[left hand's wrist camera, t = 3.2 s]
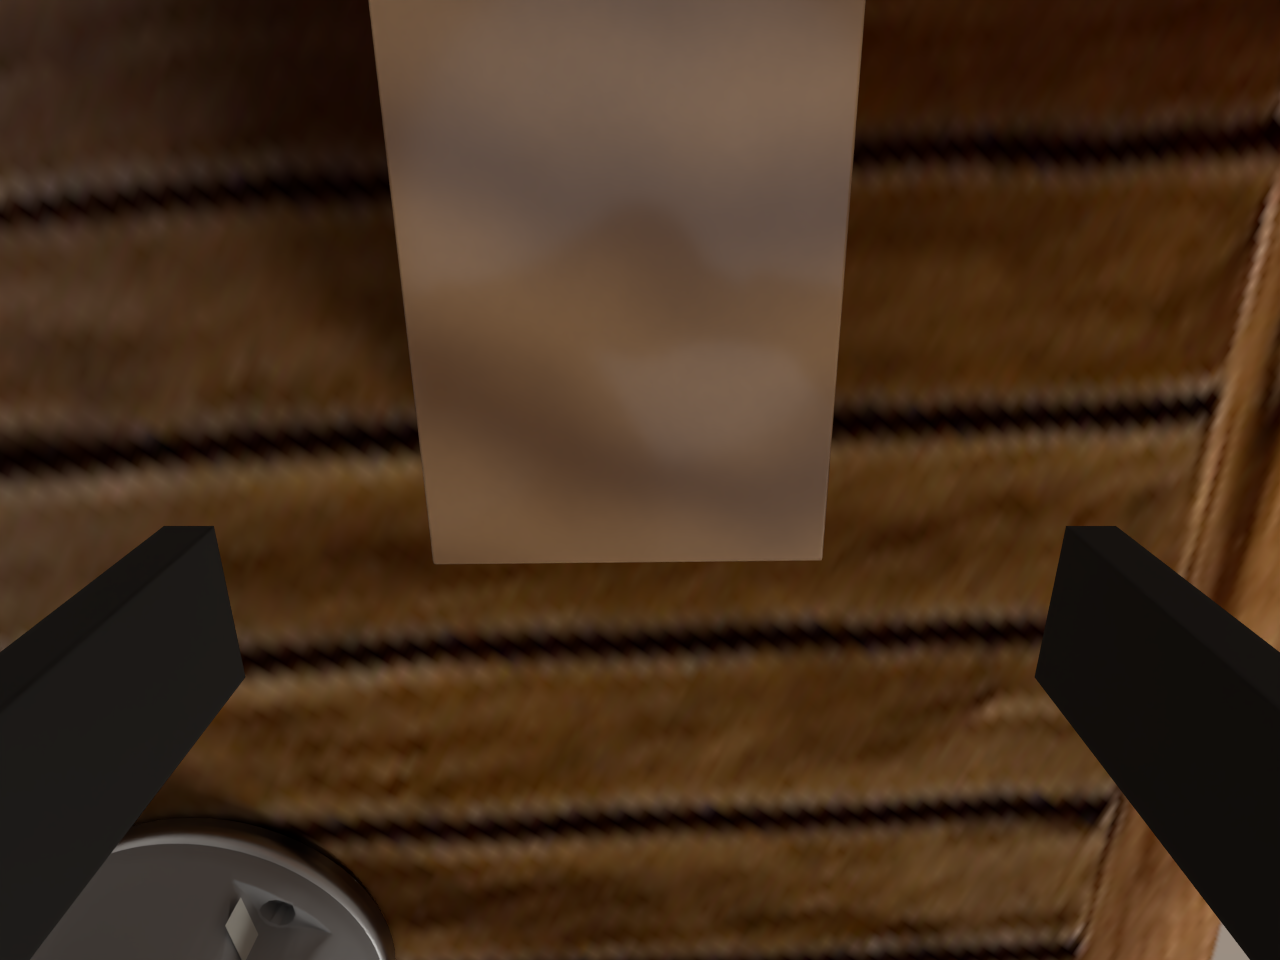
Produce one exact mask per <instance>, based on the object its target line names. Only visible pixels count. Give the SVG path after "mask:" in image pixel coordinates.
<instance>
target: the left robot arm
mask: <svg viewBox="0 0 1280 960" xmlns="http://www.w3.org/2000/svg"><path fill="white" fill-rule="evenodd" d="M244 678H245V673H244V669H243V664H242V659H241V654H240V649H239V645H238V640H237V635H236V630H235V625H234V621H233V616H232V611H231V606H230V601H229V597H228V592H227V587H226V582H225V577H224V573H223V568H222V563H221V558H220V554H219V549H218V544H217V539H216V534H215V530H214V526H164V527H162V528H161V529H160V530H158V531H157V532H156V533H155V534H153V535H152V536H151V537H149V538H148V539H147V540H145V541H144V542H143V543H142V544H140V545H139V546H138V547H136V548H135V549H134V550H132V551H131V552H130V553H129V554H127V555H126V556H125V557H123V558H122V559H121V560H119V561H118V562H117V563H116V564H114V565H113V566H112V567H110V568H109V569H108V570H107V571H105V572H104V573H103V574H101V575H100V576H99V577H97V578H96V579H95V580H94V581H92V582H91V583H90V584H88V585H87V586H86V587H84V588H83V589H82V590H81V591H79V592H78V593H77V594H75V595H74V596H73V597H71V598H70V599H69V600H68V601H66V602H65V603H64V604H62V605H61V606H60V607H59V608H57V609H56V610H55V611H53V612H52V613H51V614H49V615H48V616H47V617H46V618H44V619H43V620H42V621H40V622H39V623H38V624H36V625H35V626H34V627H33V628H31V629H30V630H29V631H27V632H26V633H25V634H23V635H22V636H21V637H20V638H18V639H17V640H16V641H14V642H13V643H12V644H11V645H9V646H8V647H7V648H5V649H4V650H3V651H1V652H0V960H395V949H394V945H393V940H392V936H391V933H390V930H389V928H388V925H387V923H386V921H385V919H384V917H383V915H382V913H381V911H380V910H379V908H378V907H377V905H376V904H375V902H374V901H373V899H372V898H371V897H370V896H369V894H368V893H367V892H366V890H365V889H364V888H363V887H362V886H361V885H360V884H359V883H358V882H357V881H356V880H355V879H354V878H353V877H352V876H351V875H349V874H348V873H347V872H346V871H345V870H344V869H343V868H341V867H340V866H338V865H337V864H336V863H334V862H333V861H332V860H330V859H329V858H327V857H326V856H324V855H322V854H321V853H319V852H318V851H316V850H314V849H312V848H310V847H309V846H307V845H305V844H303V843H301V842H299V841H297V840H294V839H292V838H289V837H287V836H285V835H282V834H280V833H277V832H274V831H271V830H268V829H265V828H261V827H257V826H254V825H250V824H246V823H240V822H235V821H230V820H221V819H213V818H173V819H164V820H157V821H152V822H147V823H142V824H138V825H135V826H132V825H133V824H134V822H135V821H136V820H137V819H138V817H139V816H140V815H141V813H142V812H143V811H144V809H145V808H146V807H147V805H148V804H149V803H150V802H151V800H152V799H153V798H154V796H155V795H156V794H157V792H158V791H159V790H160V788H161V787H162V786H163V784H164V783H165V782H166V781H167V779H168V778H169V777H170V775H171V774H172V773H173V771H174V770H175V769H176V767H177V766H178V765H179V763H180V762H181V761H182V760H183V758H184V757H185V756H186V754H187V753H188V752H189V750H190V749H191V748H192V746H193V745H194V744H195V742H196V741H197V740H198V739H199V737H200V736H201V735H202V733H203V732H204V731H205V729H206V728H207V727H208V725H209V724H210V723H211V721H212V720H213V719H214V718H215V716H216V715H217V714H218V712H219V711H220V710H221V708H222V707H223V706H224V704H225V703H226V702H227V700H228V699H229V698H230V697H231V695H232V694H233V693H234V691H235V690H236V689H237V687H238V686H239V685H240V683H241V682H242V681H243V680H244ZM1035 678H1036V680H1037V681H1038V682H1039V683H1040V685H1041V686H1042V687H1043V689H1044V690H1045V691H1046V693H1047V694H1048V695H1049V697H1050V698H1051V699H1052V700H1053V702H1054V703H1055V704H1056V706H1057V707H1058V708H1059V710H1060V711H1061V712H1062V714H1063V715H1064V716H1065V718H1066V719H1067V720H1068V721H1069V723H1070V724H1071V725H1072V727H1073V728H1074V729H1075V731H1076V732H1077V733H1078V735H1079V736H1080V737H1081V739H1082V740H1083V741H1084V742H1085V744H1086V745H1087V746H1088V748H1089V749H1090V750H1091V752H1092V753H1093V754H1094V756H1095V757H1096V758H1097V760H1098V761H1099V762H1100V763H1101V765H1102V766H1103V767H1104V769H1105V770H1106V771H1107V773H1108V774H1109V775H1110V777H1111V778H1112V779H1113V781H1114V782H1115V783H1116V784H1117V786H1118V787H1119V788H1120V790H1121V791H1122V792H1123V794H1124V795H1125V796H1126V798H1127V799H1128V800H1129V802H1130V803H1131V804H1132V805H1133V807H1134V808H1135V809H1136V811H1137V812H1138V813H1139V815H1140V816H1141V817H1142V819H1143V820H1144V821H1145V822H1146V824H1147V825H1148V826H1149V828H1150V829H1151V830H1152V832H1153V833H1154V834H1155V836H1156V837H1157V838H1158V840H1159V841H1160V842H1161V843H1162V845H1163V846H1164V847H1165V849H1166V850H1167V851H1168V853H1169V854H1170V855H1171V857H1172V858H1173V859H1174V861H1175V862H1176V863H1177V864H1178V866H1179V867H1180V868H1181V870H1182V871H1183V872H1184V874H1185V875H1186V876H1187V878H1188V879H1189V880H1190V882H1191V883H1192V884H1193V885H1194V887H1195V888H1196V889H1197V891H1198V892H1199V893H1200V895H1201V896H1202V897H1203V899H1204V900H1205V901H1206V903H1207V904H1208V905H1209V906H1210V908H1211V909H1212V910H1213V912H1214V913H1215V914H1216V916H1217V917H1218V918H1219V920H1220V921H1221V922H1222V924H1223V925H1224V926H1225V927H1226V929H1227V930H1228V931H1229V933H1230V934H1231V935H1232V937H1233V938H1234V939H1235V941H1236V942H1237V943H1238V945H1239V946H1240V947H1241V948H1242V950H1243V951H1244V952H1245V954H1246V955H1247V956H1248V958H1249V959H1250V960H1280V652H1279V651H1277V650H1276V649H1275V648H1273V647H1272V646H1271V645H1269V644H1268V643H1267V642H1266V641H1264V640H1263V639H1262V638H1260V637H1259V636H1258V635H1257V634H1255V633H1254V632H1253V631H1251V630H1250V629H1249V628H1247V627H1246V626H1245V625H1244V624H1242V623H1241V622H1240V621H1238V620H1237V619H1236V618H1234V617H1233V616H1232V615H1231V614H1229V613H1228V612H1227V611H1225V610H1224V609H1223V608H1221V607H1220V606H1219V605H1218V604H1216V603H1215V602H1214V601H1212V600H1211V599H1210V598H1209V597H1207V596H1206V595H1205V594H1203V593H1202V592H1201V591H1199V590H1198V589H1197V588H1196V587H1194V586H1193V585H1192V584H1190V583H1189V582H1188V581H1186V580H1185V579H1184V578H1183V577H1181V576H1180V575H1179V574H1177V573H1176V572H1175V571H1173V570H1172V569H1171V568H1170V567H1168V566H1167V565H1166V564H1164V563H1163V562H1162V561H1161V560H1159V559H1158V558H1157V557H1155V556H1154V555H1153V554H1151V553H1150V552H1149V551H1148V550H1146V549H1145V548H1144V547H1142V546H1141V545H1140V544H1138V543H1137V542H1136V541H1135V540H1133V539H1132V538H1131V537H1129V536H1128V535H1127V534H1125V533H1124V532H1123V531H1122V530H1120V529H1119V528H1118V527H1116V526H1066V530H1065V534H1064V539H1063V544H1062V549H1061V554H1060V558H1059V563H1058V568H1057V573H1056V577H1055V582H1054V587H1053V592H1052V597H1051V601H1050V606H1049V611H1048V616H1047V621H1046V625H1045V630H1044V635H1043V640H1042V645H1041V649H1040V654H1039V659H1038V664H1037V669H1036V673H1035ZM131 826H132V827H131Z"/></svg>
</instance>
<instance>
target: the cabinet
mask: <svg viewBox="0 0 1280 960" xmlns="http://www.w3.org/2000/svg"><path fill="white" fill-rule="evenodd" d="M865 1H866V0H368V2H369V11H370V19H371V28H372V37H373V45H374V54H375V63H376V71H377V80H378V88H379V97H380V106H381V114H382V123H383V132H384V140H385V149H386V158H387V166H388V175H389V184H390V192H391V201H392V210H393V218H394V227H395V235H396V244H397V253H398V261H399V270H400V279H401V287H402V296H403V305H404V313H405V322H406V331H407V339H408V348H409V357H410V365H411V374H412V382H413V391H414V400H415V408H416V417H417V426H418V434H419V443H420V452H421V460H422V469H423V478H424V486H425V495H426V504H427V512H428V521H429V529H430V538H431V547H432V555H433V562H434V564H496V563H596V562H695V561H795V560H822V556H823V543H824V530H825V517H826V504H827V491H828V478H829V466H830V453H831V440H832V427H833V414H834V401H835V388H836V375H837V362H838V349H839V336H840V324H841V311H842V298H843V285H844V272H845V259H846V246H847V233H848V220H849V207H850V194H851V182H852V169H853V156H854V143H855V130H856V117H857V104H858V91H859V78H860V65H861V52H862V39H863V27H864V14H865Z"/></svg>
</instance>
